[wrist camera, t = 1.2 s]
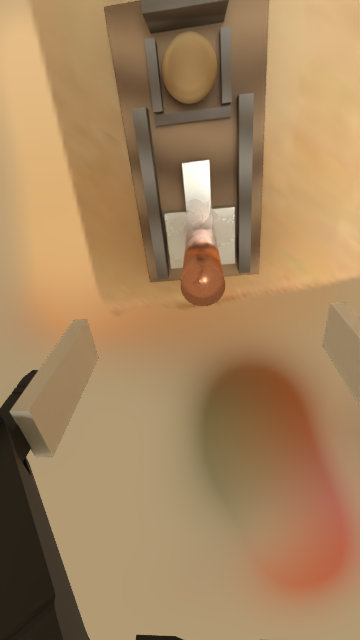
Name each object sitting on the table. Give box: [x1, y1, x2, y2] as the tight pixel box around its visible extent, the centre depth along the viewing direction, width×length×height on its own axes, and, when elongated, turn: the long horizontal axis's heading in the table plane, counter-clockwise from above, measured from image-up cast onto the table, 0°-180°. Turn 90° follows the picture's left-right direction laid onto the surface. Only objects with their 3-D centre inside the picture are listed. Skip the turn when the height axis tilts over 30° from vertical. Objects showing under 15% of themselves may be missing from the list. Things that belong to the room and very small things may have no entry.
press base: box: [104, 0, 269, 282], centre depth 28 cm, size 24×13×6 cm, turn 6°
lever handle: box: [164, 159, 235, 306], centre depth 26 cm, size 10×7×13 cm
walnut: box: [162, 31, 217, 104], centre depth 24 cm, size 4×4×4 cm
